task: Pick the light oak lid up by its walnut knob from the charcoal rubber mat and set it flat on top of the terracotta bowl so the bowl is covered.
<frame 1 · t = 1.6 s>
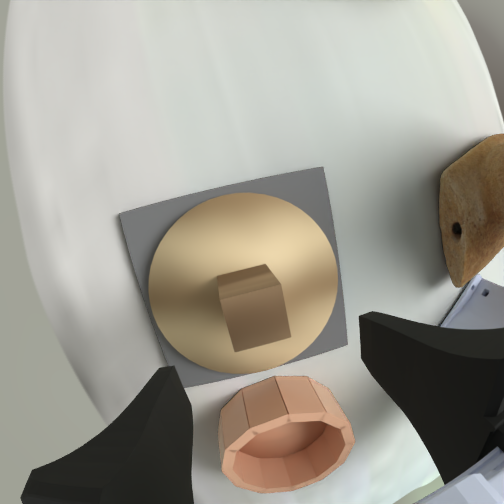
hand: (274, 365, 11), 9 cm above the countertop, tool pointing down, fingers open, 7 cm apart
charcoal mat: (244, 286, 20), on the countertop
terracotta bowl: (278, 422, 23), on the countertop
oak lid: (244, 288, 19), resting on charcoal mat
stone cup: (476, 186, 21), on the countertop
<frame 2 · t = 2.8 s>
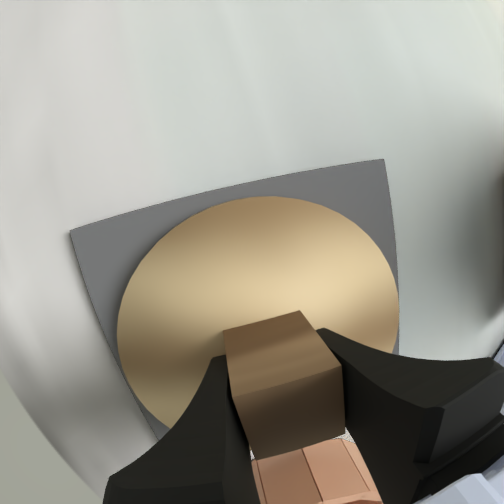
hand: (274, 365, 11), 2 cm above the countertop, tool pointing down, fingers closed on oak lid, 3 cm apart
charcoal mat: (263, 338, 13), on the countertop
terracotta bowl: (299, 485, 16), on the countertop
oak lid: (265, 343, 12), resting on charcoal mat, touching gripper
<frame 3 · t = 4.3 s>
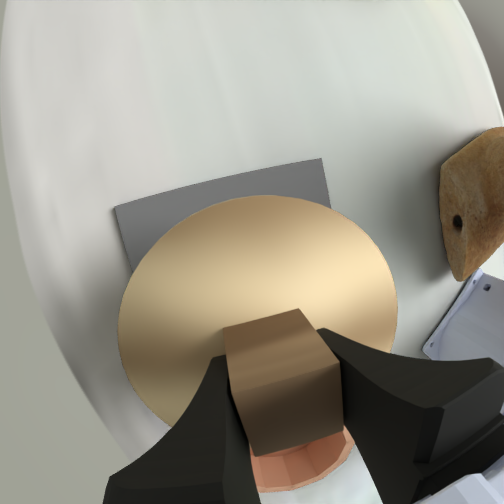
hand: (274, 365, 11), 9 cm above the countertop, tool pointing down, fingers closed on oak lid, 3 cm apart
charcoal mat: (241, 280, 19), on the countertop
terracotta bowl: (277, 419, 22), on the countertop
oak lid: (264, 341, 13), point 7 cm above the countertop, touching gripper
stone cup: (476, 180, 21), on the countertop
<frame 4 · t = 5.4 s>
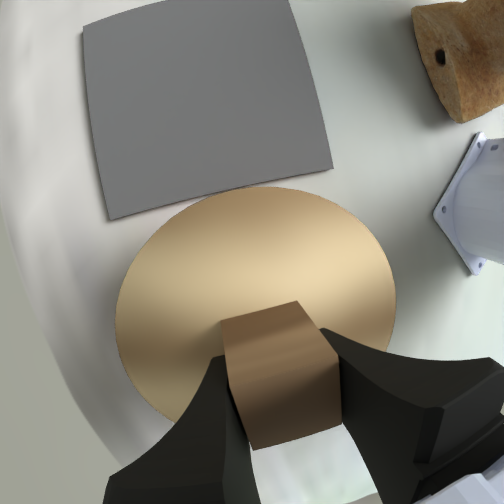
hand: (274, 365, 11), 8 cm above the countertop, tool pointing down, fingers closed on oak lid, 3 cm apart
charcoal mat: (199, 82, 15), on the countertop
oak lid: (262, 333, 13), point 6 cm above the countertop, touching gripper
stone cup: (458, 47, 17), on the countertop
when the fingers open (7 cm above the countertop, at t = 5.8 s): oak lid stays where it is, resting on terracotta bowl.
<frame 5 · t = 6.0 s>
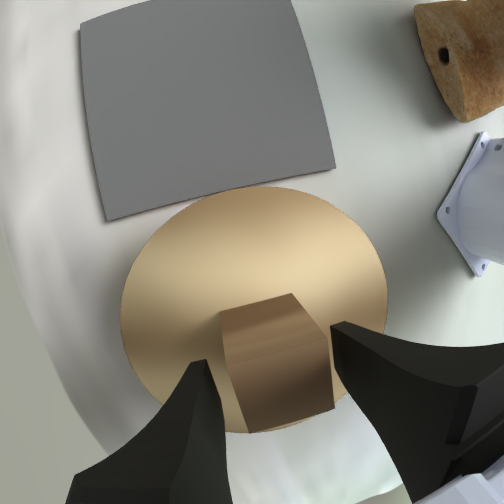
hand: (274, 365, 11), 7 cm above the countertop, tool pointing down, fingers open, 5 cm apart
charcoal mat: (198, 80, 15), on the countertop
oak lid: (260, 326, 13), point 4 cm above the countertop, touching terracotta bowl
stone cup: (460, 46, 16), on the countertop
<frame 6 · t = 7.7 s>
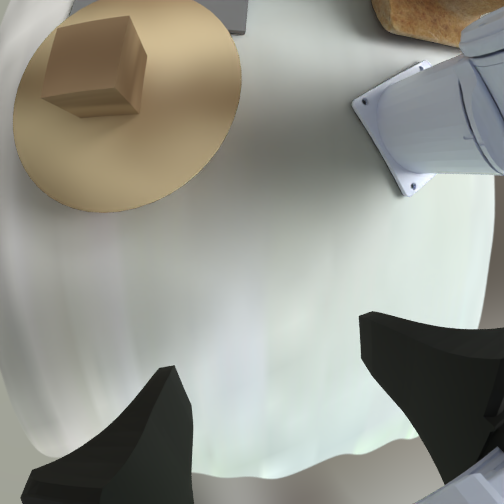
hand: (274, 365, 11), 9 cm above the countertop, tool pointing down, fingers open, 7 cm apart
oak lid: (117, 90, 12), point 4 cm above the countertop, touching terracotta bowl
stone cup: (418, 0, 17), on the countertop
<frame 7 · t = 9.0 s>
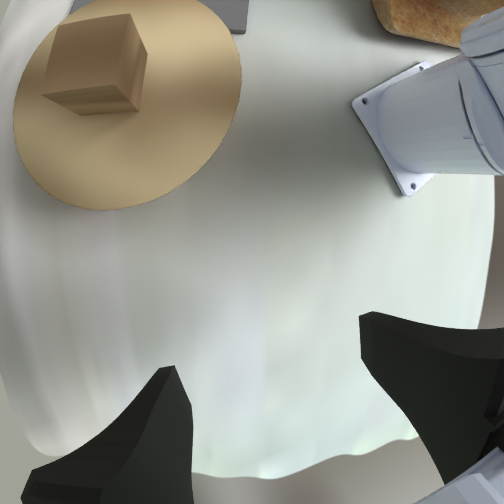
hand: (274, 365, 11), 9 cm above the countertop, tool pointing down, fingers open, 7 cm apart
oak lid: (117, 88, 12), point 4 cm above the countertop, touching terracotta bowl
stone cup: (419, 1, 17), on the countertop
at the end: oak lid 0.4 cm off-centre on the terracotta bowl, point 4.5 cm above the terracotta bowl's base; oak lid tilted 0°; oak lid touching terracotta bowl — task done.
